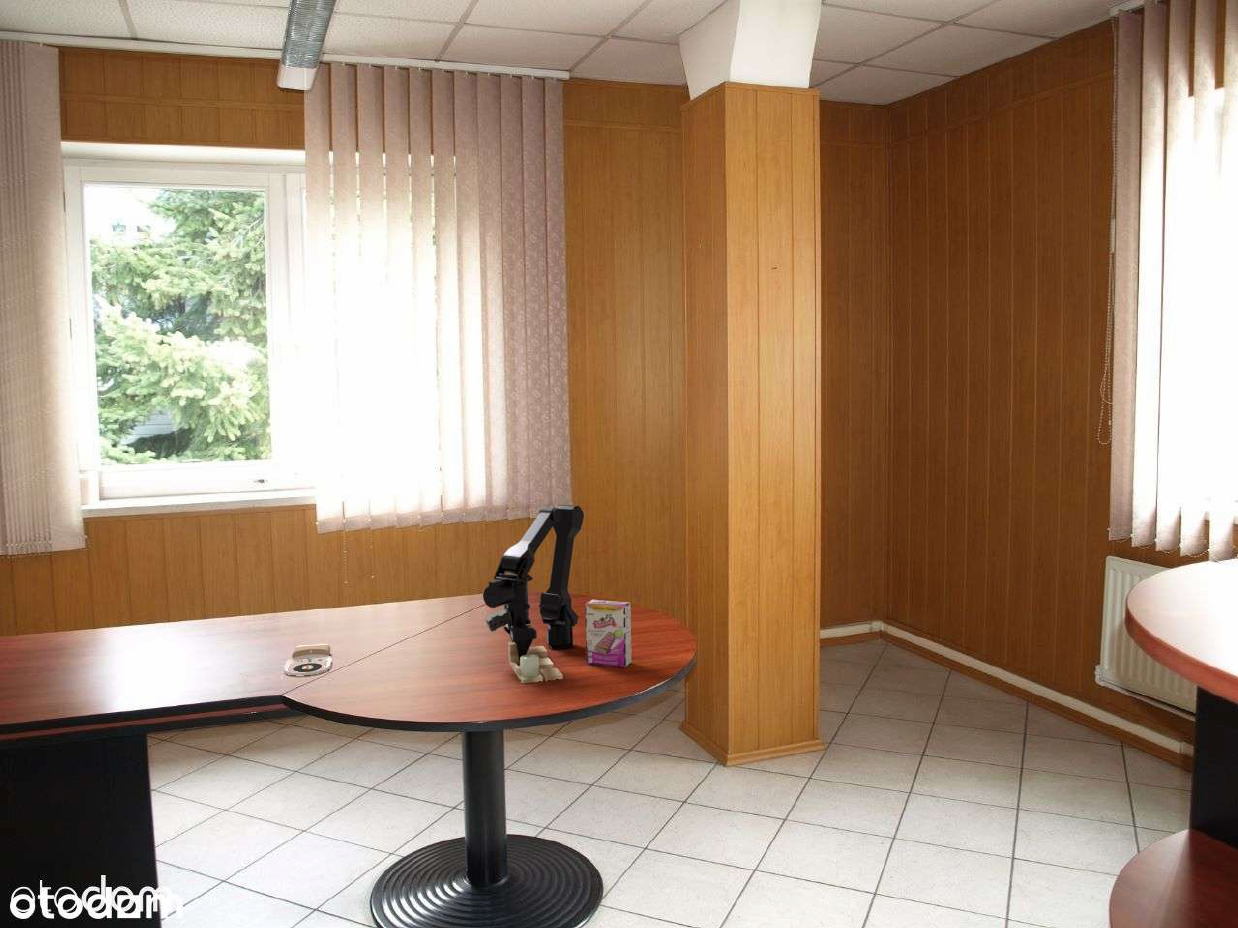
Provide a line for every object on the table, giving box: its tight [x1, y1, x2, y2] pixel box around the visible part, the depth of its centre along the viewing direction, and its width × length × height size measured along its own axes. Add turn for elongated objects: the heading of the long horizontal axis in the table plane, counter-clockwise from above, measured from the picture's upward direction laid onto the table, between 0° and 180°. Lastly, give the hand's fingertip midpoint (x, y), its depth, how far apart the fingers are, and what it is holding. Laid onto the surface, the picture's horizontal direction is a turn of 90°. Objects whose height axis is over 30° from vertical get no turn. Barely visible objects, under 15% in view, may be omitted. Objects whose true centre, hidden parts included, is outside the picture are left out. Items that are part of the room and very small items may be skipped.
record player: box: [283, 643, 333, 676], centre depth 279 cm, size 12×3×20 cm
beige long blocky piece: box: [507, 641, 544, 684], centre depth 269 cm, size 5×19×6 cm, turn 16°
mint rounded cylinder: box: [519, 655, 540, 678], centre depth 263 cm, size 5×5×4 cm
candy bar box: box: [584, 599, 632, 668], centre depth 273 cm, size 11×5×16 cm, turn 71°
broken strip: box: [529, 645, 564, 682], centre depth 272 cm, size 4×23×2 cm, turn 16°
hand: (519, 657), depth 277 cm, fingers open, 6 cm apart
